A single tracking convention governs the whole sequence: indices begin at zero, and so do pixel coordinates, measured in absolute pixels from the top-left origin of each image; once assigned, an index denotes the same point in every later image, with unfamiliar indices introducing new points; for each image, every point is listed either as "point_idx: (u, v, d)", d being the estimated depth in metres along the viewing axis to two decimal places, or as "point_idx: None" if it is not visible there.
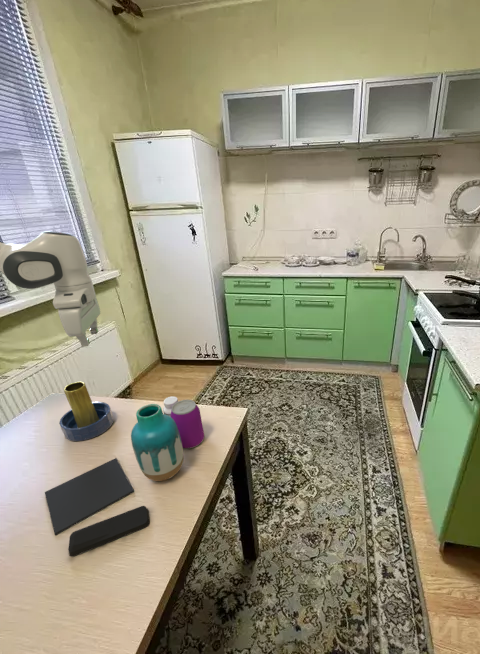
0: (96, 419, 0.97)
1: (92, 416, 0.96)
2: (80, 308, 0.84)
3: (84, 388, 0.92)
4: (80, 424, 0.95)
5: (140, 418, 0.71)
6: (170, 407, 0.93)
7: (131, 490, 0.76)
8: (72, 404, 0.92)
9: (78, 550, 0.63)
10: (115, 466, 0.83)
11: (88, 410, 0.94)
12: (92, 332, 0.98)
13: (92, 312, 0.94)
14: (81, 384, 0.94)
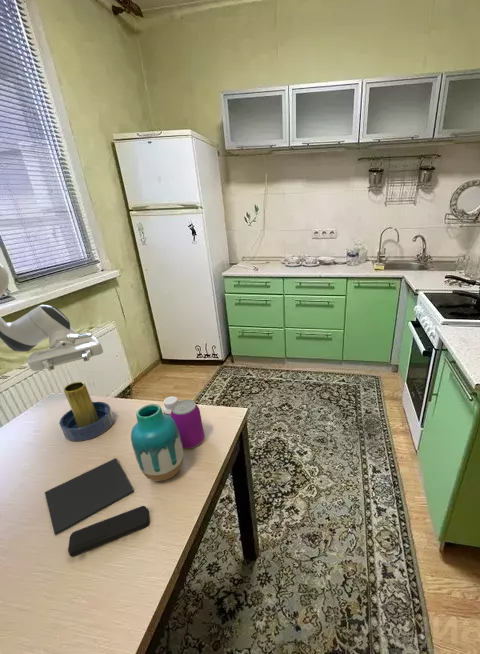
0: (96, 419, 0.97)
1: (92, 416, 0.96)
2: None
3: (84, 388, 0.92)
4: (80, 424, 0.95)
5: (140, 418, 0.71)
6: (170, 407, 0.93)
7: (131, 490, 0.76)
8: (72, 404, 0.92)
9: (78, 550, 0.63)
10: (115, 466, 0.83)
11: (88, 410, 0.94)
12: (52, 365, 0.98)
13: None
14: (81, 384, 0.94)
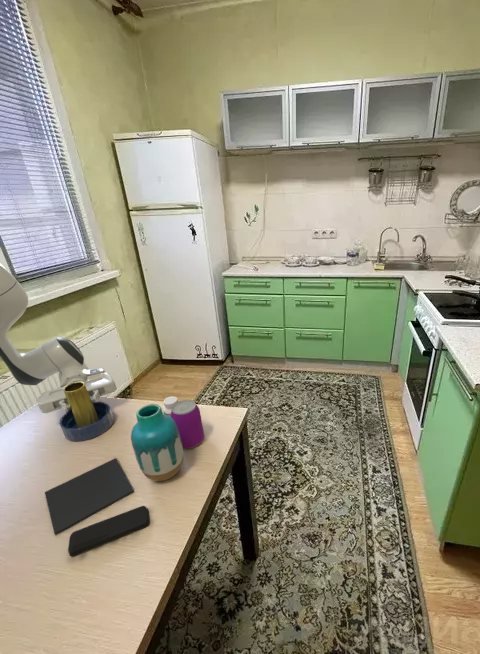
0: (96, 419, 0.97)
1: (92, 416, 0.95)
2: None
3: (83, 388, 0.92)
4: (80, 424, 0.95)
5: (140, 418, 0.71)
6: (170, 407, 0.93)
7: (131, 490, 0.76)
8: (72, 404, 0.92)
9: (78, 550, 0.63)
10: (115, 466, 0.83)
11: (88, 410, 0.94)
12: None
13: None
14: (81, 384, 0.94)
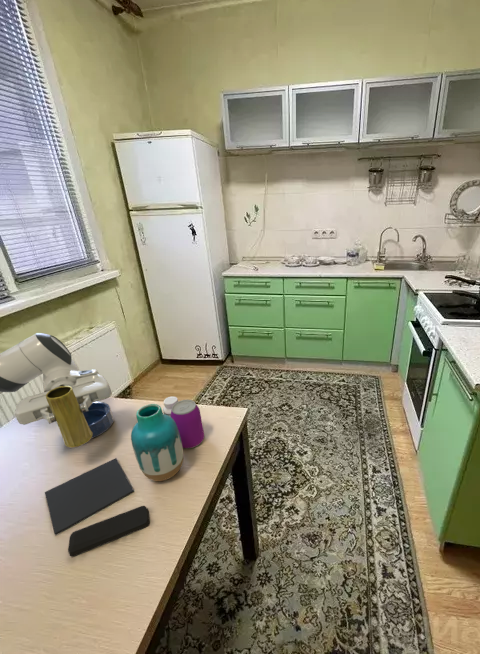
0: (87, 431, 0.80)
1: (82, 428, 0.78)
2: None
3: (71, 394, 0.75)
4: (67, 438, 0.77)
5: (140, 418, 0.71)
6: (170, 407, 0.93)
7: (131, 490, 0.76)
8: (56, 414, 0.74)
9: (78, 550, 0.63)
10: (115, 466, 0.83)
11: (77, 421, 0.77)
12: (54, 416, 0.75)
13: None
14: (68, 389, 0.77)
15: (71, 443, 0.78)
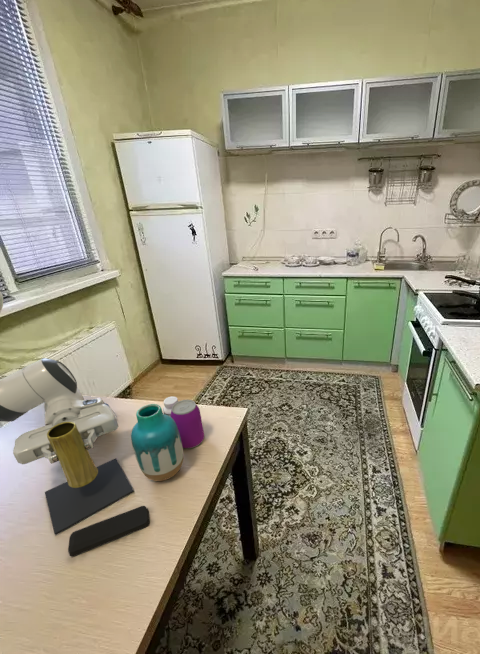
0: (92, 469, 0.73)
1: (86, 466, 0.72)
2: None
3: (74, 432, 0.68)
4: (70, 478, 0.71)
5: (140, 418, 0.71)
6: (170, 407, 0.93)
7: (131, 490, 0.76)
8: (59, 454, 0.68)
9: (78, 550, 0.63)
10: (115, 466, 0.83)
11: (81, 460, 0.70)
12: (56, 455, 0.69)
13: None
14: (71, 425, 0.70)
15: (75, 483, 0.71)
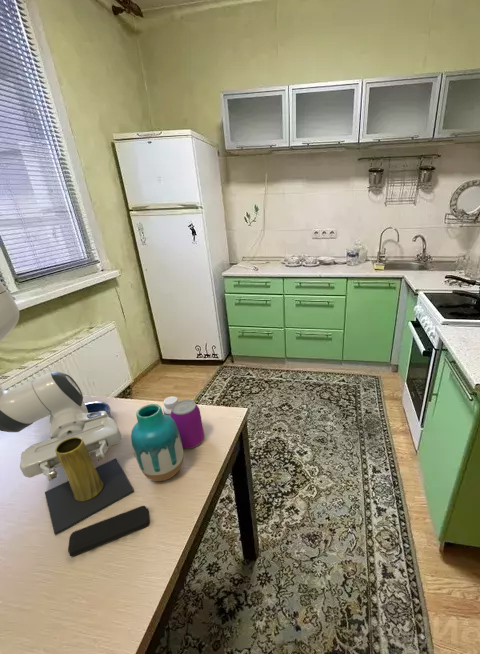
0: (98, 483, 0.75)
1: (92, 480, 0.74)
2: None
3: (82, 447, 0.71)
4: (77, 492, 0.73)
5: (140, 418, 0.71)
6: (170, 407, 0.93)
7: (131, 490, 0.76)
8: (66, 468, 0.70)
9: (78, 550, 0.63)
10: (115, 466, 0.83)
11: (88, 474, 0.72)
12: (55, 472, 0.70)
13: None
14: (78, 440, 0.72)
15: (82, 497, 0.73)
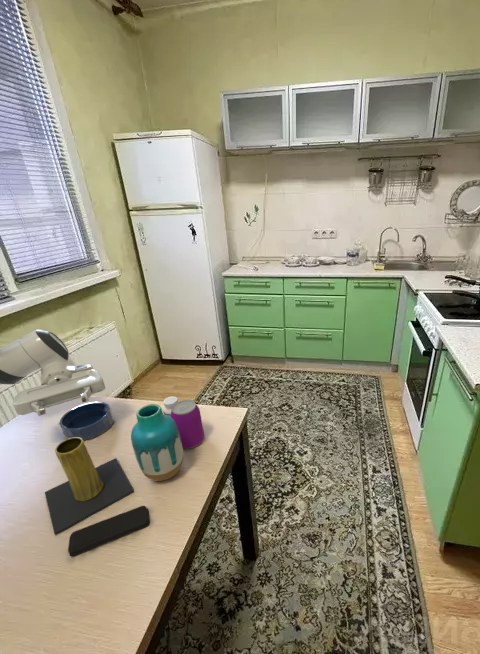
0: (98, 483, 0.75)
1: (92, 480, 0.74)
2: None
3: (82, 447, 0.71)
4: (77, 492, 0.73)
5: (140, 418, 0.71)
6: (170, 407, 0.93)
7: (131, 490, 0.76)
8: (66, 468, 0.70)
9: (78, 550, 0.63)
10: (115, 466, 0.83)
11: (88, 474, 0.72)
12: (43, 409, 0.80)
13: None
14: (78, 440, 0.72)
15: (82, 497, 0.73)
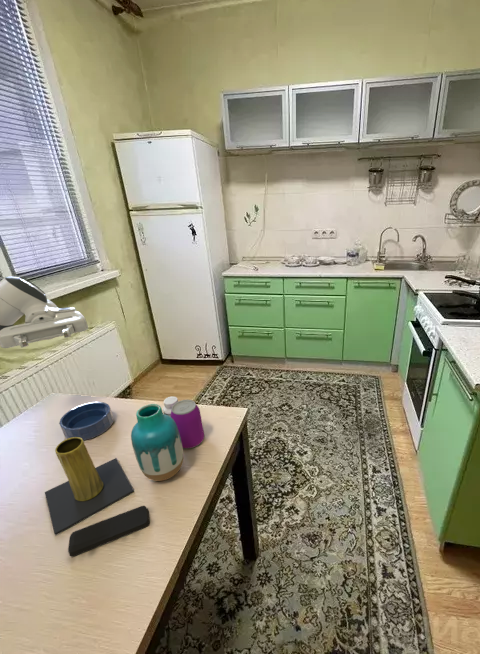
0: (98, 483, 0.75)
1: (92, 480, 0.74)
2: None
3: (82, 447, 0.71)
4: (77, 492, 0.73)
5: (140, 418, 0.71)
6: (170, 407, 0.93)
7: (131, 490, 0.76)
8: (66, 468, 0.70)
9: (78, 550, 0.63)
10: (115, 466, 0.83)
11: (88, 474, 0.72)
12: (26, 341, 0.82)
13: None
14: (78, 440, 0.72)
15: (82, 497, 0.73)
